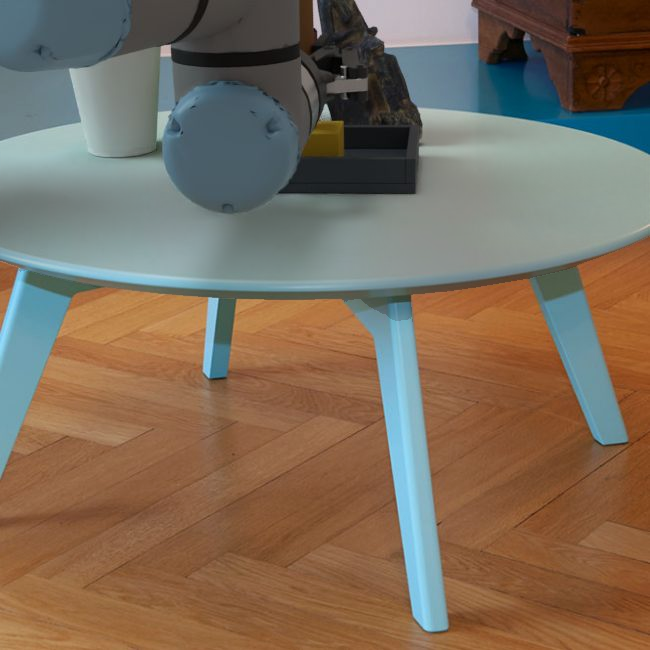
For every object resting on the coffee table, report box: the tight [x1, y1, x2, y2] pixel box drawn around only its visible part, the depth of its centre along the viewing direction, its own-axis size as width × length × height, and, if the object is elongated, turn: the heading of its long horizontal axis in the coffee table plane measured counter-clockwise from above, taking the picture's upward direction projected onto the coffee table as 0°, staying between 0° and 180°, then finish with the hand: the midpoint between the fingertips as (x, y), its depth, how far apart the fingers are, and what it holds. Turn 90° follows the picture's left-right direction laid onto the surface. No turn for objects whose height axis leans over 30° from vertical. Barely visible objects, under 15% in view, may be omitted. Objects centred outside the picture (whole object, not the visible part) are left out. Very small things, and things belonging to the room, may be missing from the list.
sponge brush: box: [299, 0, 344, 157], centre depth 94 cm, size 7×5×14 cm
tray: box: [277, 125, 420, 194], centre depth 96 cm, size 18×13×3 cm
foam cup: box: [68, 46, 162, 158], centre depth 104 cm, size 10×9×13 cm
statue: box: [316, 0, 423, 140], centre depth 106 cm, size 6×12×15 cm, turn 50°
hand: (305, 50), depth 98 cm, fingers closed on sponge brush, 3 cm apart
